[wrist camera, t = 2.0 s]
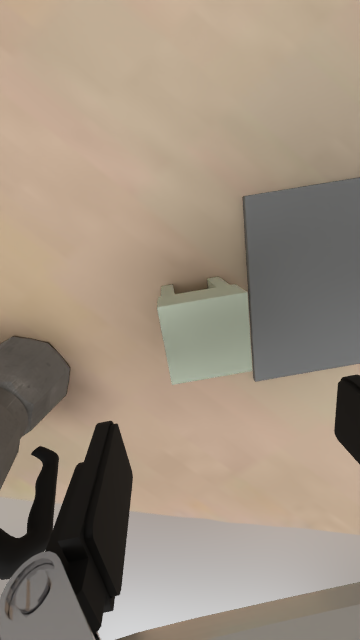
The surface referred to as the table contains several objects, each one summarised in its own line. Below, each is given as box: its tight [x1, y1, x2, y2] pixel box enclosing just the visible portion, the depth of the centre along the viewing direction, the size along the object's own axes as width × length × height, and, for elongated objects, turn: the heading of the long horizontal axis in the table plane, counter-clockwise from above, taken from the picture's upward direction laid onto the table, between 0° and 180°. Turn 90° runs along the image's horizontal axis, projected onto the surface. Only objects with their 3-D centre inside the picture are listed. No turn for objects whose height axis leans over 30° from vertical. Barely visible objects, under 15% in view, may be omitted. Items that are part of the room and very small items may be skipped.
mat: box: [243, 178, 360, 382], centre depth 26 cm, size 13×20×1 cm, turn 9°
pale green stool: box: [157, 277, 252, 385], centre depth 22 cm, size 6×6×8 cm
